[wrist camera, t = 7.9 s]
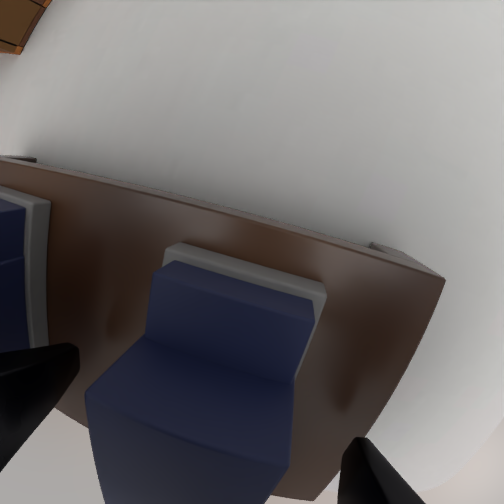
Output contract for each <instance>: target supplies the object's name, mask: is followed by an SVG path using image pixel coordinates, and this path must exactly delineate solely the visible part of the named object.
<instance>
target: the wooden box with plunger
mask: <svg viewBox="0 0 504 504" xmlns="http://www.w3.org/2000/svg"><path fill="white" fill-rule="evenodd" d="M50 2H51V0H0V53H9V54H17V55H20V53H21V51H22V49H23V47H24V45H25V43H26V41H27V40H28V38H29V36H30V34H31V32H32V31H33V29H34V27H35V25H36V24H37V22H38V20H39V19H40V17H41V15H42V14H43V12H44V11H45V8H47V6H48V5H49V3H50Z"/></svg>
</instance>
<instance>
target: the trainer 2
mask: <svg viewBox="0 0 504 504" xmlns="http://www.w3.org/2000/svg"><path fill="white" fill-rule="evenodd" d="M326 299H327V294H326V290H325V287H324V284H323V283H321V282H318V281H314V280H311V279H307V278H304V277H300V276H297V275H293V274H289V273H286V272H282V271H279V270H275V269H272V268H268V267H265V266H261V265H258V264H254V263H251V262H247V261H244V260H240V259H237V258H234V257H230V256H227V255H223V254H220V253H216V252H213V251H209V250H206V249H203V248H199V247H196V246H192V245H189V244H185V243H182V242H179V243H177V244H174V245H172V246H170V247H168V248H166V250H165V253H164V259H163V265H162V267H161V268H160V269H158V270H156V271H154V272H153V275H152V282H151V288H150V295H149V303H148V311H147V319H146V327H145V333H144V334H143V335H142V336H141V337H140V338H139V339H138V340H137V341H136V342H135V343H134V344H133V345H132V346H131V347H130V348H129V349H128V350H127V351H126V352H125V353H124V354H123V355H122V356H121V357H120V358H118V359H117V360H116V361H115V362H114V363H113V364H112V365H111V366H110V367H109V368H108V369H107V370H106V371H105V372H104V373H103V374H102V375H101V376H100V377H99V378H98V379H97V380H96V381H95V382H94V383H93V384H92V385H91V386H90V387H89V388H88V389H87V390H86V391H85V394H84V397H85V406H86V414H87V421H88V428H89V434H90V440H91V446H92V451H93V456H94V461H95V465H96V470H97V474H98V479H99V482H100V486H101V490H102V494H103V498H104V501H105V504H264V503H265V502H266V501H267V499H268V498H269V496H270V495H271V493H272V492H273V491H274V489H275V488H276V486H277V485H278V483H279V482H280V480H281V479H282V477H283V476H284V474H285V473H286V471H287V470H288V468H289V467H290V459H291V444H292V428H293V409H294V385H295V379H296V377H297V374H298V372H299V370H300V367H301V365H302V362H303V360H304V357H305V355H306V352H307V350H308V347H309V345H310V342H311V340H312V337H313V334H314V332H315V329H316V326H317V324H318V321H319V318H320V316H321V313H322V310H323V307H324V304H325V302H326Z"/></svg>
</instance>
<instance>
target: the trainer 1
mask: <svg viewBox="0 0 504 504" xmlns="http://www.w3.org/2000/svg"><path fill="white" fill-rule="evenodd" d="M50 210H51V202H50V201H49V200H46V199H42V198H39V197H36V196H33V195H29V194H26V193H23V192H20V191H16V190H13V189H10V188H7V187H4V186H0V353H2V352H9V351H16V350H23V349H30V348H36V347H42V346H48V345H49V337H48V323H47V300H46V268H47V244H48V230H49V219H50Z"/></svg>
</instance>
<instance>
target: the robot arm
mask: <svg viewBox="0 0 504 504" xmlns="http://www.w3.org/2000/svg"><path fill="white" fill-rule="evenodd" d="M79 371H80V351H79V348H78V347H77V346H75V345H73V344H72V343H69V342H66V343H60V344H54V345H48V346H42V347H36V348H30V349H23V350H16V351H9V352H2V353H0V472H1V471H2V469H3V468H4V467H5V466H6V465H7V463H8V462H9V461H10V460H11V458H12V457H13V456H14V455H15V453H16V452H17V451H18V450H19V449H20V447H21V446H22V445H23V444H24V442H25V441H26V440H27V439H28V437H29V436H30V435H31V434H32V433H33V432H34V430H35V429H36V428H37V427H38V426H39V425H40V423H41V422H42V421H43V420H44V419H45V417H46V416H47V415H48V414H49V413H50V411H51V410H52V409H53V408H54V407H55V406H56V405H57V403H58V402H59V401H60V399H61V398H62V396H63V395H64V393H65V392H66V390H67V389H68V387H69V386H70V384H71V383H72V382H73V380H74V379H75V377H76V376H77V374H78V373H79ZM337 504H425V503H424V501H423V500H422V499H421V498H420V497H419V496H418V495H417V494H416V492H415V491H414V490H413V489H412V488H411V487H410V486H409V485H408V483H407V482H406V481H405V480H404V479H403V478H402V477H401V476H400V474H399V473H398V472H397V471H396V470H395V469H394V468H393V466H392V465H391V464H390V463H389V462H388V461H387V460H386V458H385V457H384V456H383V455H382V454H381V453H380V451H379V450H378V449H377V448H376V447H375V446H374V444H373V443H372V442H371V441H370V440H369V439H368V438H364V437H355V438H354V439H353V440H352V442H351V443H350V444H349V446H348V447H347V449H346V450H345V452H344V453H343V456H342V460H341V471H340V480H339V489H338V503H337Z"/></svg>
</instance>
